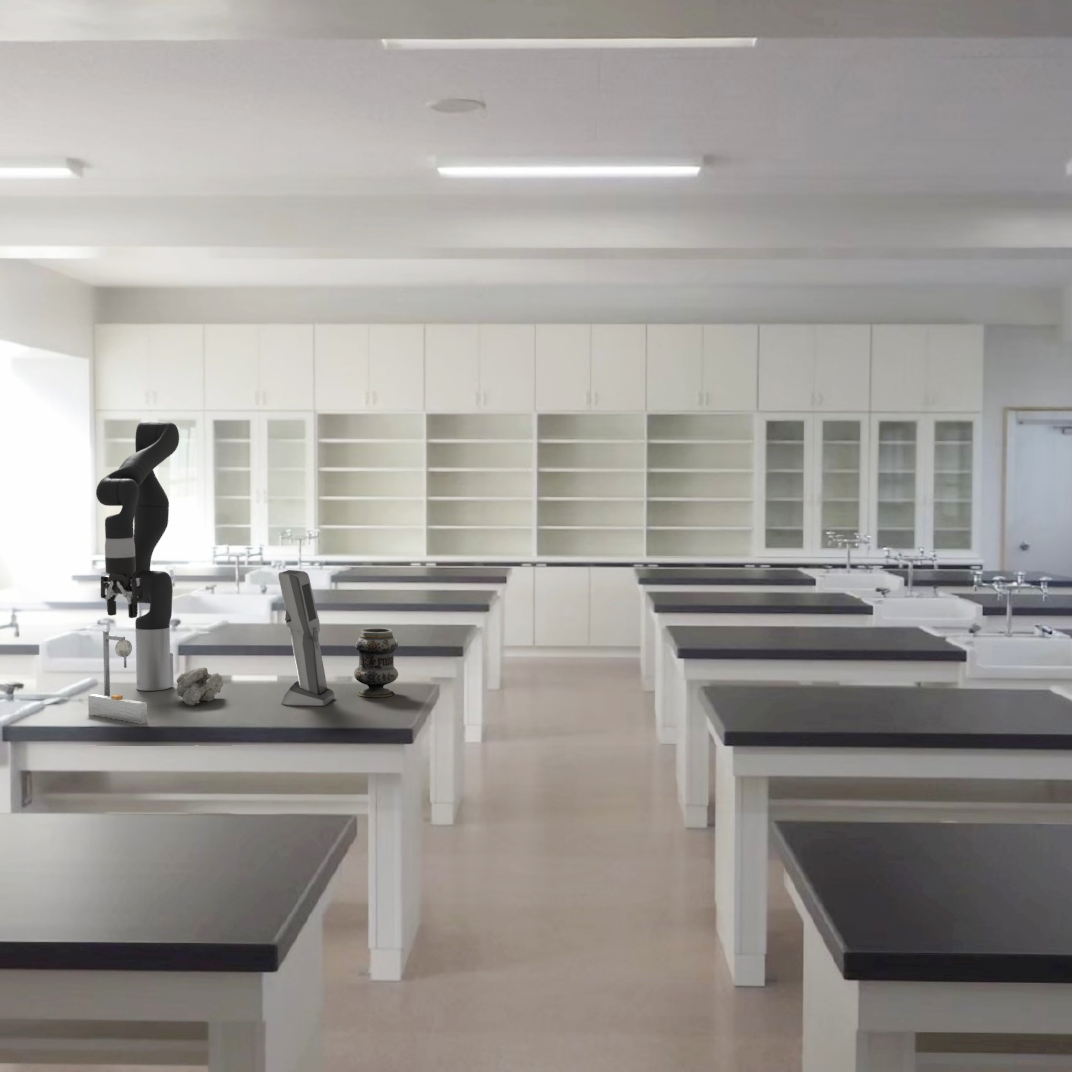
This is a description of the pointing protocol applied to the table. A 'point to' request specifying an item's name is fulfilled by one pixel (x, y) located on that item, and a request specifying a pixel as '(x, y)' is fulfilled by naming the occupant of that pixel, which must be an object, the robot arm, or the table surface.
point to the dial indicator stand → (121, 650)
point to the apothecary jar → (376, 661)
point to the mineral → (198, 686)
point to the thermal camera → (304, 642)
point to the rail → (118, 708)
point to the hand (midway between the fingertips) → (122, 616)
